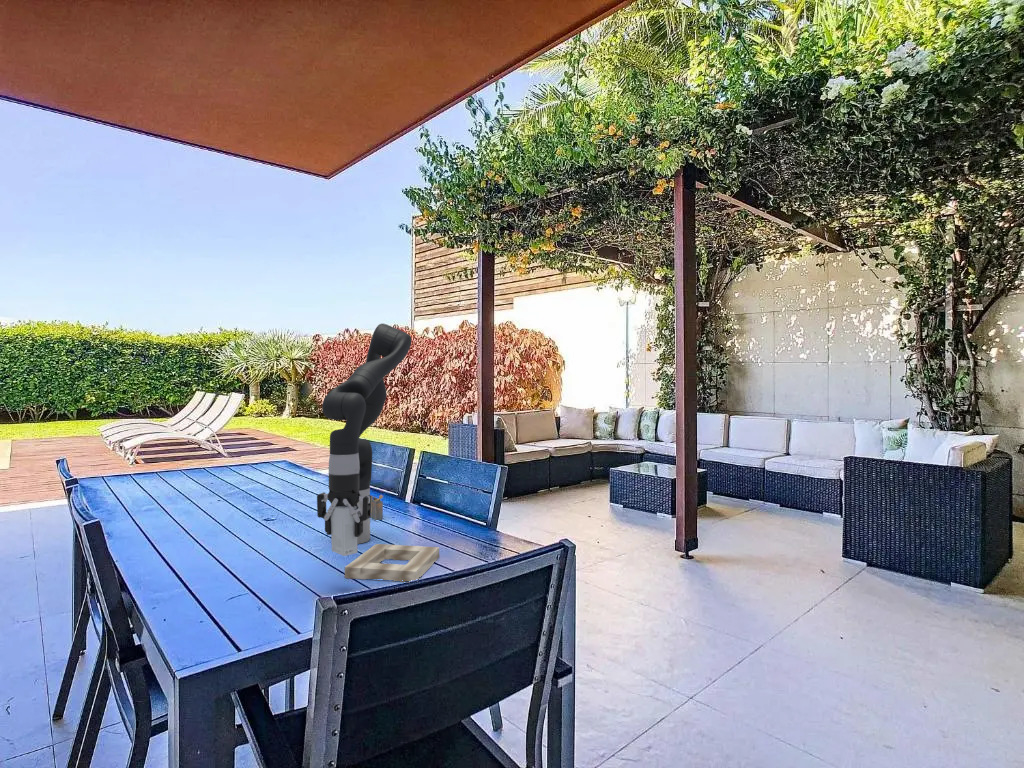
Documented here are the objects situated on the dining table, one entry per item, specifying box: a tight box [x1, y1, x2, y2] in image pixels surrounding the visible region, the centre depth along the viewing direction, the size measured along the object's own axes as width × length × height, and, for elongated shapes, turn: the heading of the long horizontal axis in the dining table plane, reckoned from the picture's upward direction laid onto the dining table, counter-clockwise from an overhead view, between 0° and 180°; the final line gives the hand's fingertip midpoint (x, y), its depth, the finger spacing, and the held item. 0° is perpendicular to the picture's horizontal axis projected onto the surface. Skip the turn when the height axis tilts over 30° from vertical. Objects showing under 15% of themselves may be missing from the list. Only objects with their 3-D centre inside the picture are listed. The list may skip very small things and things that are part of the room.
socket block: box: [344, 543, 440, 583], centre depth 164 cm, size 20×21×3 cm
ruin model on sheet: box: [370, 494, 384, 521], centre depth 218 cm, size 11×3×10 cm, turn 33°
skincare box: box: [330, 506, 358, 557], centre depth 147 cm, size 6×4×12 cm
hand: (344, 535), depth 147 cm, fingers closed on skincare box, 7 cm apart
